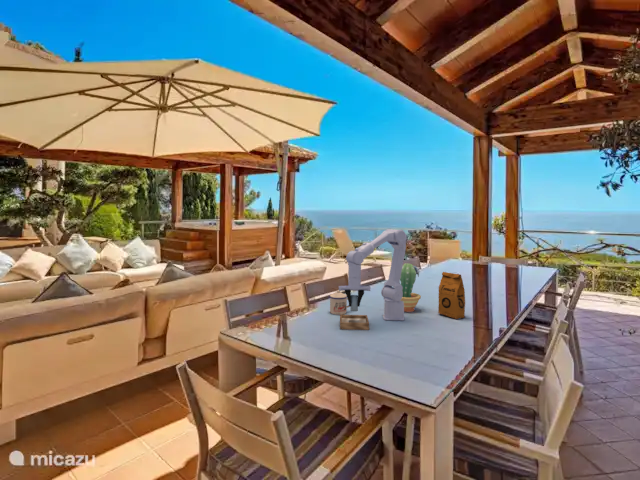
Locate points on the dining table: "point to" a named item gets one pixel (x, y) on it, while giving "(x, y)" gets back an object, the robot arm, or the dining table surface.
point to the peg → (354, 303)
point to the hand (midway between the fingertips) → (354, 306)
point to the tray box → (354, 322)
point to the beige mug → (338, 303)
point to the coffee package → (451, 296)
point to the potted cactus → (409, 287)
